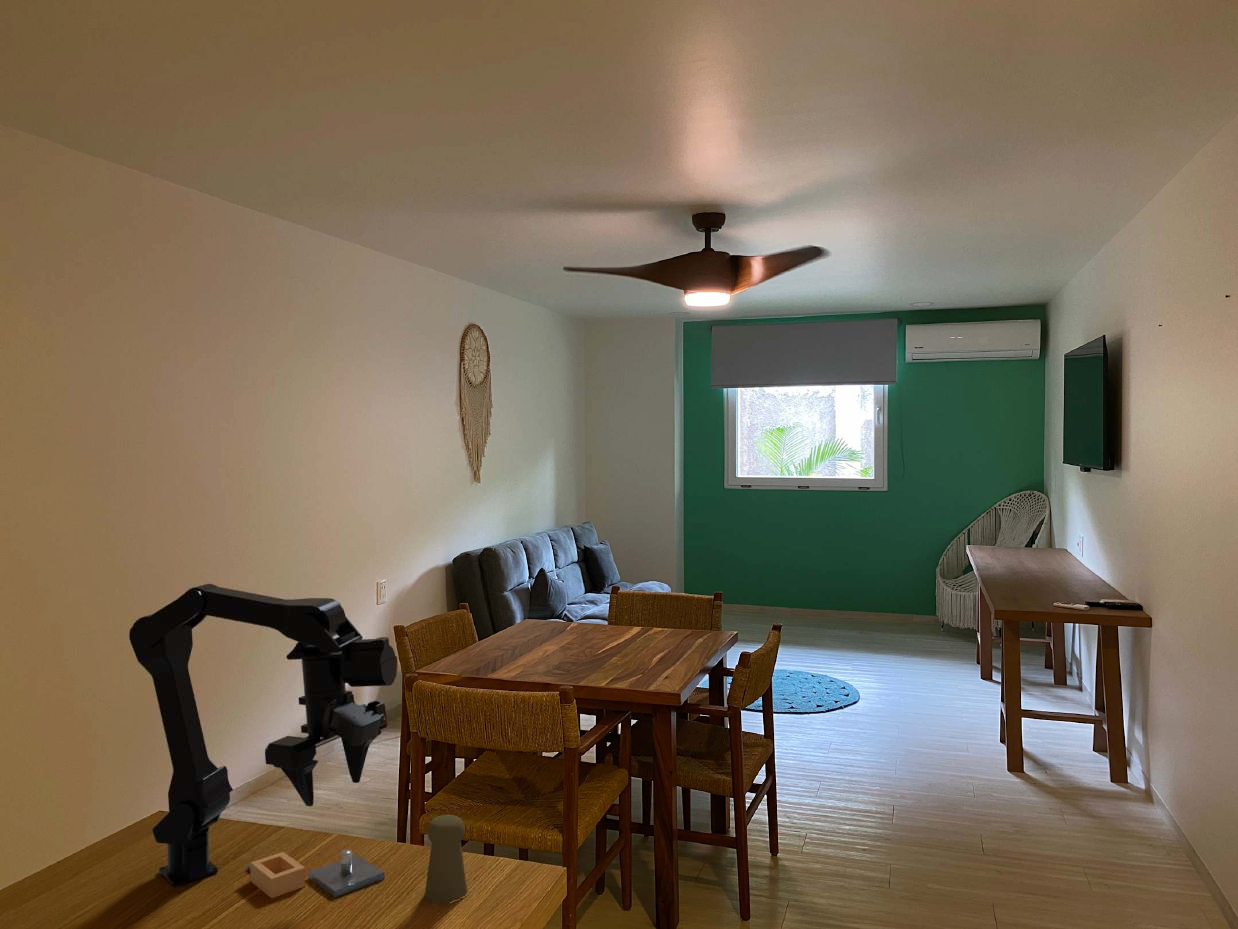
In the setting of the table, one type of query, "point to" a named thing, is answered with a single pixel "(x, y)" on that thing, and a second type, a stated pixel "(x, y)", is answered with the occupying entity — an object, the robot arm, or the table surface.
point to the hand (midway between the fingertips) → (333, 793)
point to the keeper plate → (346, 874)
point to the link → (277, 874)
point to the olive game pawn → (445, 860)
